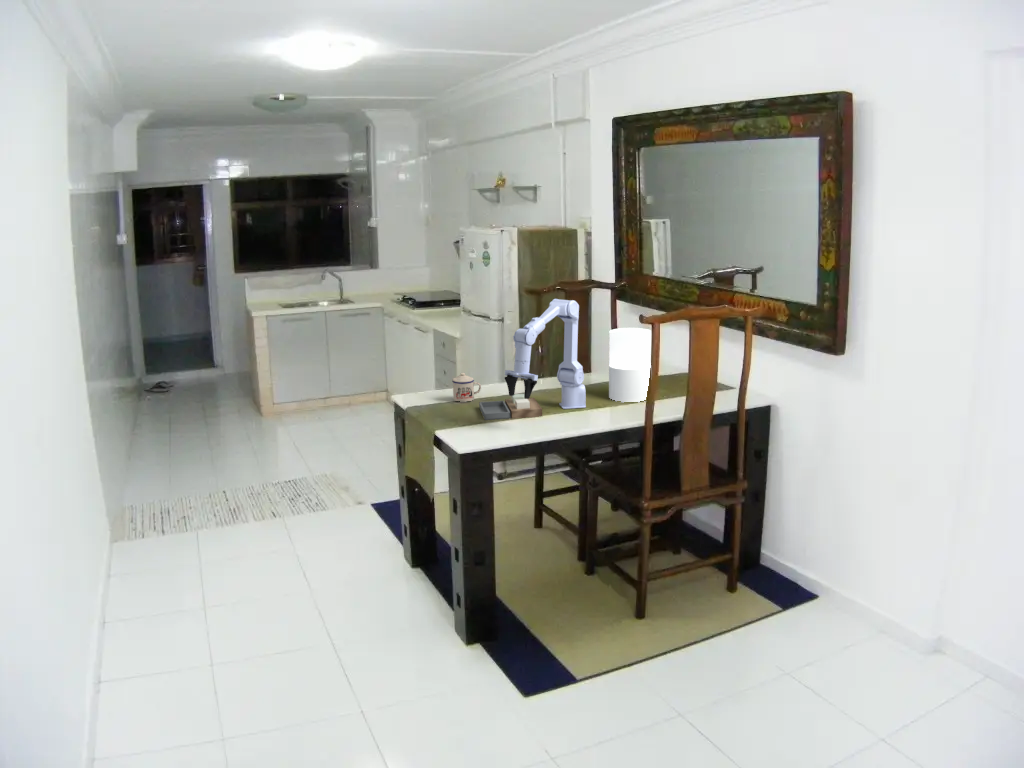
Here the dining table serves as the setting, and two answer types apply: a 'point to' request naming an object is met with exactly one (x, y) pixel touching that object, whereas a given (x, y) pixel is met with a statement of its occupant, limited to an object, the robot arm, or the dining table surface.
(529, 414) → the walnut plate
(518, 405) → the cream tile
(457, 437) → the dining table surface
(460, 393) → the teacup with lid
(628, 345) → the cylinder
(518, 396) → the sage tile
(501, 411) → the box
